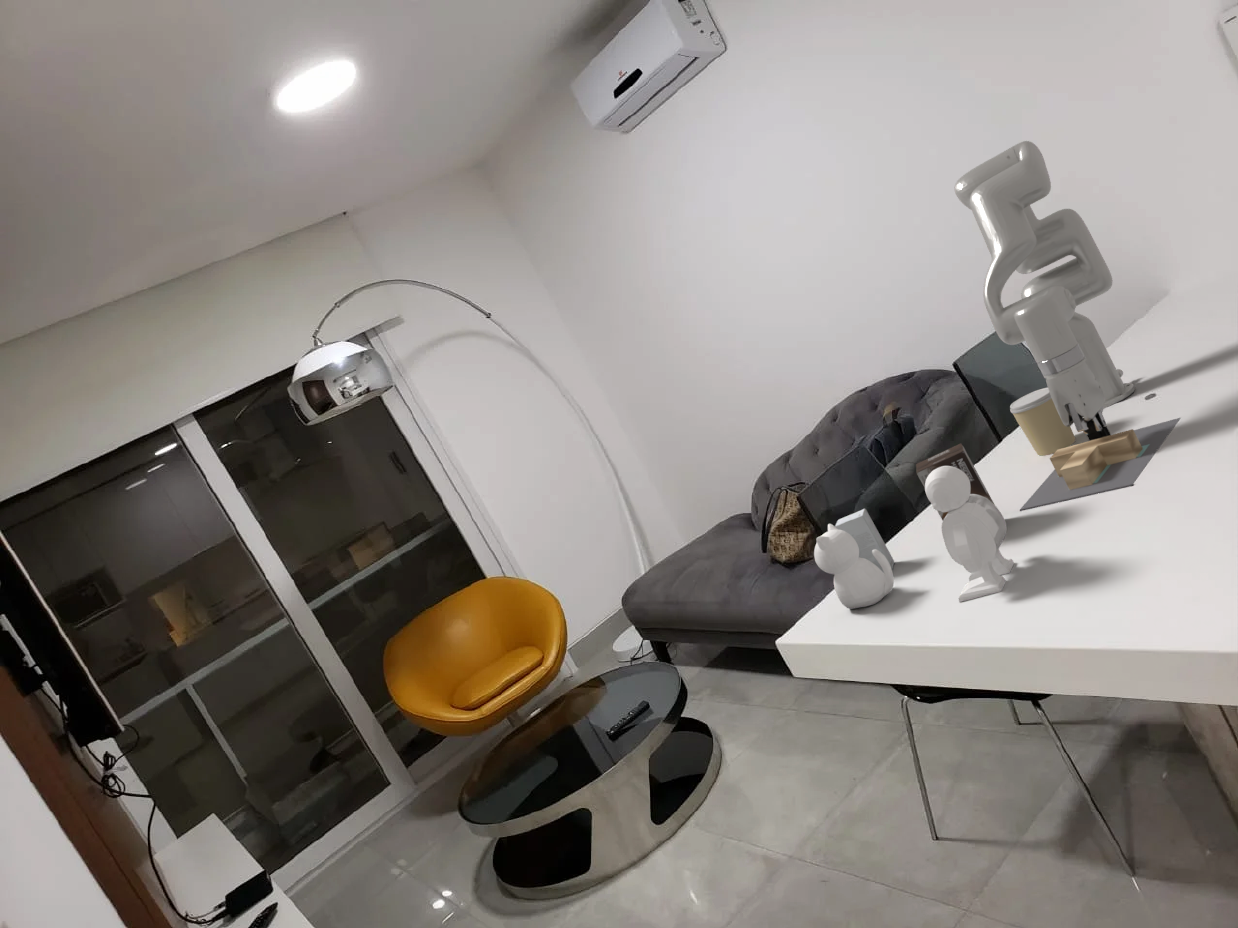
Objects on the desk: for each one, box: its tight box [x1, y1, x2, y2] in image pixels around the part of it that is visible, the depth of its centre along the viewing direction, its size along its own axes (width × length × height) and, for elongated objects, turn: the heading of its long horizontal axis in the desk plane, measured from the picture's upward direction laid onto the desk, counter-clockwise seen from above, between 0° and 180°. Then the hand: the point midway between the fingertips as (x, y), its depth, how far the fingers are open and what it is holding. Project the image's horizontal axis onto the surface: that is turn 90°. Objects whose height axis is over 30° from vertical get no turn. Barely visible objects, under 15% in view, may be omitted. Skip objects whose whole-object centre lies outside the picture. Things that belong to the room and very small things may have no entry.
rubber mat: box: [1019, 417, 1181, 512], centre depth 161 cm, size 28×20×1 cm
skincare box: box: [834, 508, 895, 573], centre depth 169 cm, size 6×4×12 cm
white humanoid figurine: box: [924, 466, 1015, 603], centre depth 138 cm, size 14×9×20 cm, turn 142°
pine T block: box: [1049, 428, 1143, 490], centre depth 159 cm, size 12×14×4 cm
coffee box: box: [915, 442, 996, 521], centre depth 160 cm, size 9×6×16 cm
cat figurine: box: [813, 523, 895, 610], centre depth 157 cm, size 9×12×15 cm
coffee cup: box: [1009, 386, 1077, 457], centre depth 183 cm, size 9×9×12 cm
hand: (1105, 448), depth 164 cm, fingers closed
